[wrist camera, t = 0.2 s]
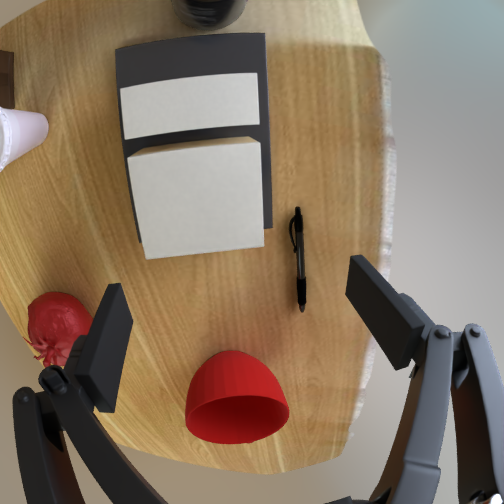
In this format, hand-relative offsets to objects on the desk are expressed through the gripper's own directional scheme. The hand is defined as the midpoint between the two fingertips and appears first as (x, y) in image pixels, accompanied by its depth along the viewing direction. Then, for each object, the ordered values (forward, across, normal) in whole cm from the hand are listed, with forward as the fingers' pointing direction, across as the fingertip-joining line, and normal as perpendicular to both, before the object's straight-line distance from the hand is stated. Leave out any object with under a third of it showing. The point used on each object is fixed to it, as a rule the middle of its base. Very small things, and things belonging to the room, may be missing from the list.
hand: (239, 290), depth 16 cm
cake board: (+16, -2, +7) cm, 17 cm away
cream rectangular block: (+14, -2, +10) cm, 18 cm away
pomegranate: (+16, -22, -12) cm, 30 cm away
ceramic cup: (+16, -1, -26) cm, 30 cm away
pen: (+16, +8, -8) cm, 19 cm away
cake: (+16, -2, +2) cm, 16 cm away
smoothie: (+16, -19, +11) cm, 27 cm away
